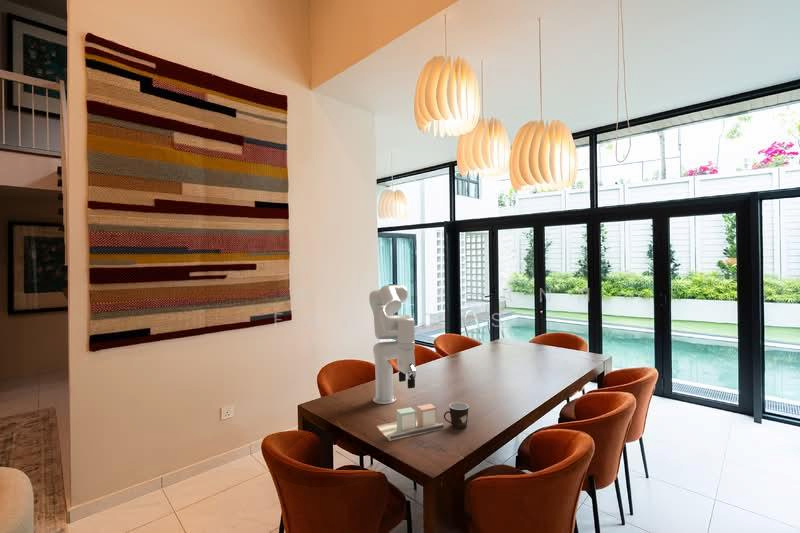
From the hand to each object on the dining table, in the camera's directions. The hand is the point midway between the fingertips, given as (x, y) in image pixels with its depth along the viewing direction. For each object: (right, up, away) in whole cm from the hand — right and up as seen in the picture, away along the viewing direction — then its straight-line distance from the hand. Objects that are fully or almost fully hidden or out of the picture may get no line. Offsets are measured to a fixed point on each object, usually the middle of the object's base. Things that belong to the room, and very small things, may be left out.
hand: (406, 384), depth 166 cm
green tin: (0, -20, -2) cm, 20 cm away
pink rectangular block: (+9, -20, +2) cm, 22 cm away
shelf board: (+1, -21, +2) cm, 21 cm away
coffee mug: (+22, -21, +2) cm, 30 cm away
